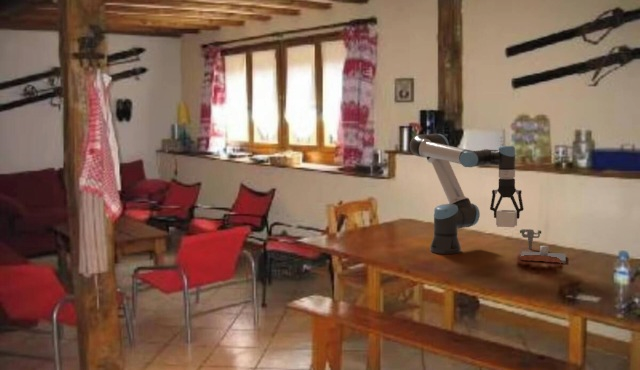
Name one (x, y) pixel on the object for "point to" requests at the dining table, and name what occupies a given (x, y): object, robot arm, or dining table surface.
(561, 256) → the board
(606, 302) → the dining table surface
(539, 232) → the mechanical component
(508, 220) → the cream slotted box
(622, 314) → the dining table surface
